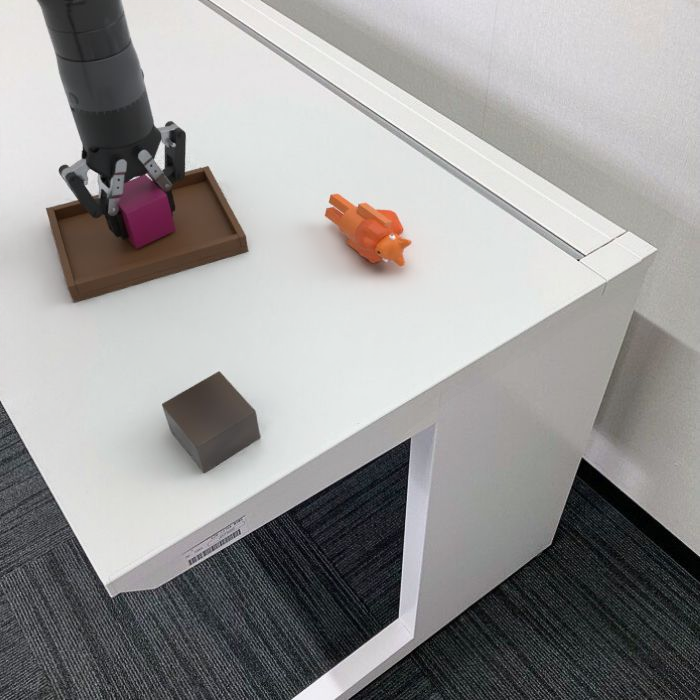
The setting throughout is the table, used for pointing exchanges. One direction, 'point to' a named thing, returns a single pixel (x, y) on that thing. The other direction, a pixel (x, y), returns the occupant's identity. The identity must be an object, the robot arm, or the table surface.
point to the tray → (155, 257)
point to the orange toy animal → (369, 230)
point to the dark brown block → (212, 421)
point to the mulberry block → (145, 211)
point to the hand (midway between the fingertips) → (144, 224)
